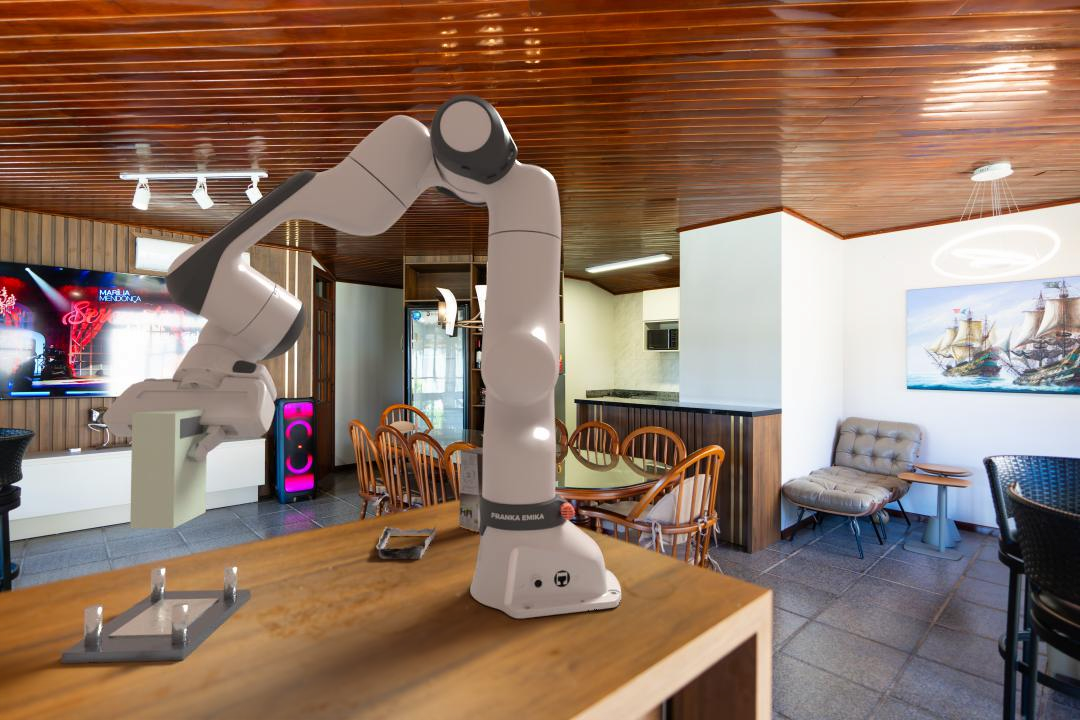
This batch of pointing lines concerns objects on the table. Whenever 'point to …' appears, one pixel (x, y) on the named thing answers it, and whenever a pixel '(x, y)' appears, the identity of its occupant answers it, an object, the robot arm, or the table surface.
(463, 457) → the coffee box
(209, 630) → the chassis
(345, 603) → the table surface
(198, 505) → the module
